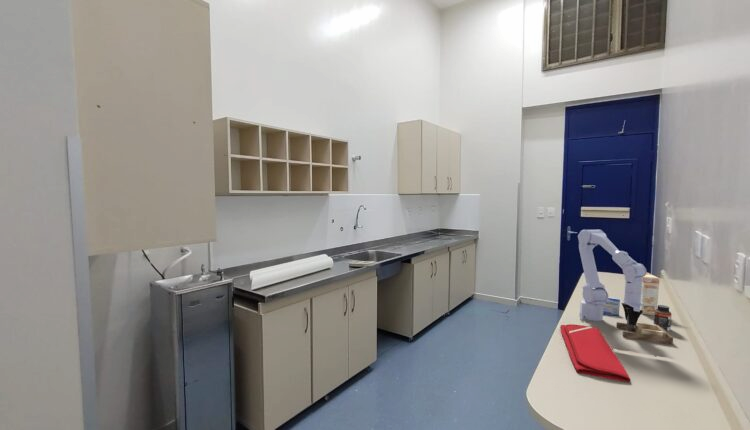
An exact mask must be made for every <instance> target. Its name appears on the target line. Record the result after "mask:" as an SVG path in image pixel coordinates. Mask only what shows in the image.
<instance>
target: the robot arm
mask: <svg viewBox="0 0 750 430" xmlns="http://www.w3.org/2000/svg"><path fill="white" fill-rule="evenodd" d="M577 238H578V239H577V240H578V250H579V254H580V259H581V264H582V269H583V273H584V279H585V284H584V285H583V286H582V293H581V294H582V298H583V300H580V305H579V315H578V316H579V318H580V321H581V322H584V320H590V321H594V322H602V321H604V320H603V318H604V314H603V307H604V303H605V301H606V300H607V299H608V297H609V292H608V291H607V290H606V287H605V284H603V283H602V282H601V281H600V279H599V274H598V270H597V265H596V261H595V256H594V251H593V250H594V248H595V247H597V246H598V245H599V246H601V247H602V248H603V249H604V250H605V251H607V253H609V254H610V255H611V256H612V257H611V258H612V260H613V262H614V263H615V264H617V265H618V266H619V267H620V268H621V269H622V273H623V275H624V280H625V285H624V298H623V302H622V303H621V305H622V308H623V311H624V318H625V320H626V321H627V316H628V319H629V324H630V325H636V323H637V322H639V318H640V316H641V315H643V314H642V313H643V311H642V310H640V306H641V305H644V303H642V302H641V293H642V280H643V277H644V276H645V275H646V273H648V272H647V271H648V270H647V267H645V266H644V264H643V263H638V262H637V261H636V260H634V259H633V258H632V257H631V256H629V253H628V252H627V251H624V250H619V248H617V247H616V245H615V244H614V243H613V242H612V241H611V240H610V239H609V238H608V236H607V234H606V233H605V232H604V231H603V230H602V229H582V230H580V231H579V233H578V235H577Z"/></svg>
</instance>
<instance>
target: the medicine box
mask: <svg viewBox="0 0 750 430" xmlns="http://www.w3.org/2000/svg"><path fill="white" fill-rule="evenodd" d="M620 304H621V299H620V298H618V297H615V296H608V299H607V300H606V301H605V303H604V307H603V315H605V316H606V315H607V316H616V317H619V316H620V307H621V305H620Z"/></svg>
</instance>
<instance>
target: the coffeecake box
mask: <svg viewBox="0 0 750 430" xmlns="http://www.w3.org/2000/svg"><path fill="white" fill-rule="evenodd" d="M660 280H661V279H660V278H659V277H658V276H656V275H653V274H652V273H650V272H647V273H646V275H645V276H644V277H643V280H642V293H641V302H642V303H644V305H641V306H640V310H642V311H643V313H642V314H641V315H649V316H654V311H655V310H656V309H658V308H657V307H658V303H659V302H658V300H659V290H660V289H659V288H660Z"/></svg>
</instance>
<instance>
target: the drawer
mask: <svg viewBox="0 0 750 430" xmlns="http://www.w3.org/2000/svg"><path fill="white" fill-rule="evenodd" d="M626 323H627V328H626V329H625V331H628V332H635V333H641V334H648V335H654V336H661V337H666V332H665V331H664V330H663V329H662V328H661V327H659V326H658V325H654V323H646V322H639V321H637V323H636V325H630V324H629V319H628V316H627V320H626Z"/></svg>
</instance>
